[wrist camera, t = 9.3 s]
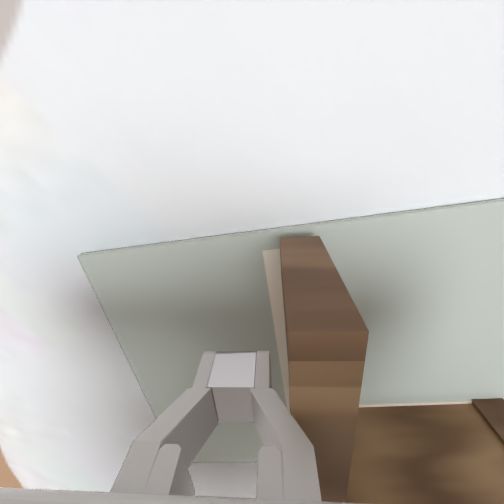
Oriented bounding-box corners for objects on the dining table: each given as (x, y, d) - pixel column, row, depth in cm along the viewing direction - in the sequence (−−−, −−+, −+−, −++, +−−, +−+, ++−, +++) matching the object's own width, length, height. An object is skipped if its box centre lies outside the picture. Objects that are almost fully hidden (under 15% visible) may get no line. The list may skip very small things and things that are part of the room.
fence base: (502, 398, 16) (678, 591, 9) (496, 416, 16) (654, 608, 10) (289, 405, 17) (301, 573, 11) (291, 422, 18) (304, 588, 11)
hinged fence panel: (314, 417, 16) (337, 563, 11) (286, 417, 16) (295, 560, 11) (319, 235, 11) (369, 331, 6) (279, 237, 11) (288, 332, 6)
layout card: (568, 189, 11) (581, 191, 10) (477, 454, 19) (482, 461, 18) (82, 253, 14) (75, 256, 13) (179, 457, 22) (177, 463, 21)
